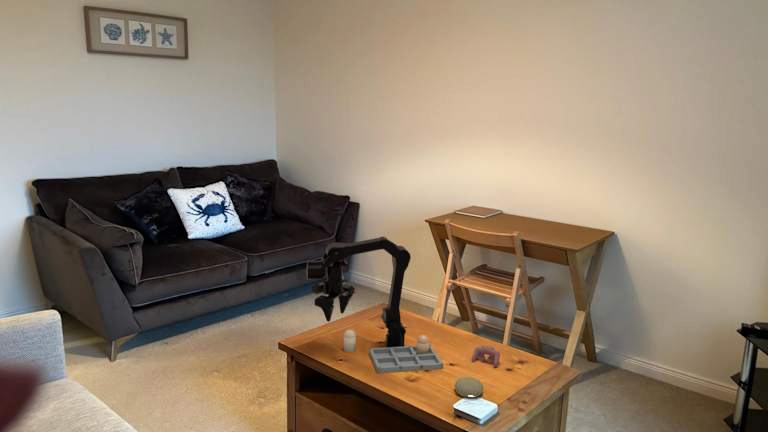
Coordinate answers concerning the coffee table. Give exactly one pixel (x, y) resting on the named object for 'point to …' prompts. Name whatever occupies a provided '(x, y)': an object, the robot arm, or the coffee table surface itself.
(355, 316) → the coffee table surface
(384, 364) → the grey compartment tray
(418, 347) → the beige rounded cylinder
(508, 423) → the coffee table surface
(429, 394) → the coffee table surface
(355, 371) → the coffee table surface
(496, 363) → the video game controller
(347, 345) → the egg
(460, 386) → the sea urchin shell
